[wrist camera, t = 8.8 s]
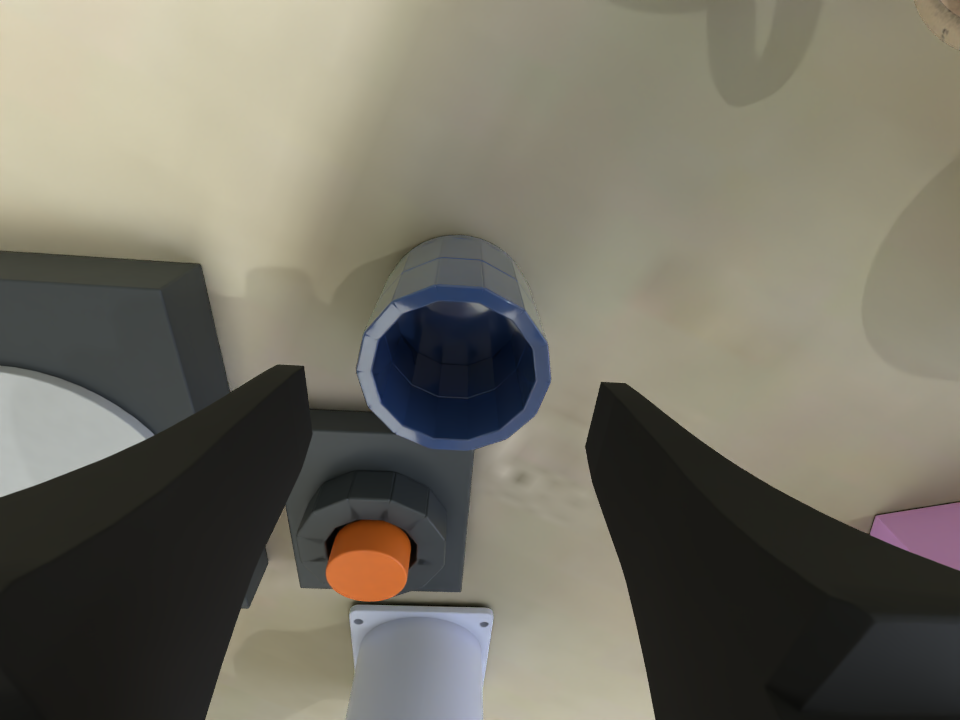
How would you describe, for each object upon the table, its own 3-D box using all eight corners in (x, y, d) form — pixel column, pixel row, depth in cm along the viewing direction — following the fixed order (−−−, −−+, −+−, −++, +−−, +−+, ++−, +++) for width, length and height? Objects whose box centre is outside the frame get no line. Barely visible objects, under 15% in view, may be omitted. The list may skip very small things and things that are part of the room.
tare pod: (461, 568, 24) (460, 624, 22) (308, 564, 24) (289, 620, 21) (475, 416, 20) (476, 465, 17) (283, 407, 19) (253, 455, 16)
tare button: (411, 570, 20) (407, 603, 19) (337, 567, 20) (328, 601, 19) (411, 519, 19) (407, 551, 17) (331, 516, 19) (321, 549, 17)
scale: (269, 562, 24) (245, 617, 21) (25, 555, 23) (-29, 611, 21) (201, 263, 16) (151, 293, 14) (-170, 239, 15) (-296, 266, 13)
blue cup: (521, 371, 19) (538, 454, 14) (385, 364, 18) (360, 447, 14) (540, 240, 16) (567, 292, 12) (382, 228, 16) (349, 278, 11)
